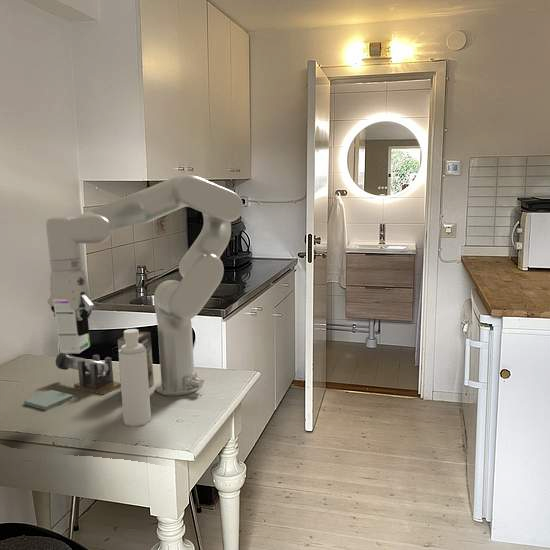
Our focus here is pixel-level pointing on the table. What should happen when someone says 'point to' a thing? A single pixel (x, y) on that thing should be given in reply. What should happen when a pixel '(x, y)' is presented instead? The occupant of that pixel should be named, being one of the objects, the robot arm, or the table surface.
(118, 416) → the table surface
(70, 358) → the shaft
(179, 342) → the robot arm
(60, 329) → the syrup box
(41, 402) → the grey-green square pad
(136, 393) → the spray bottle
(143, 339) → the coffee box
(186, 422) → the table surface
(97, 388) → the bracket
